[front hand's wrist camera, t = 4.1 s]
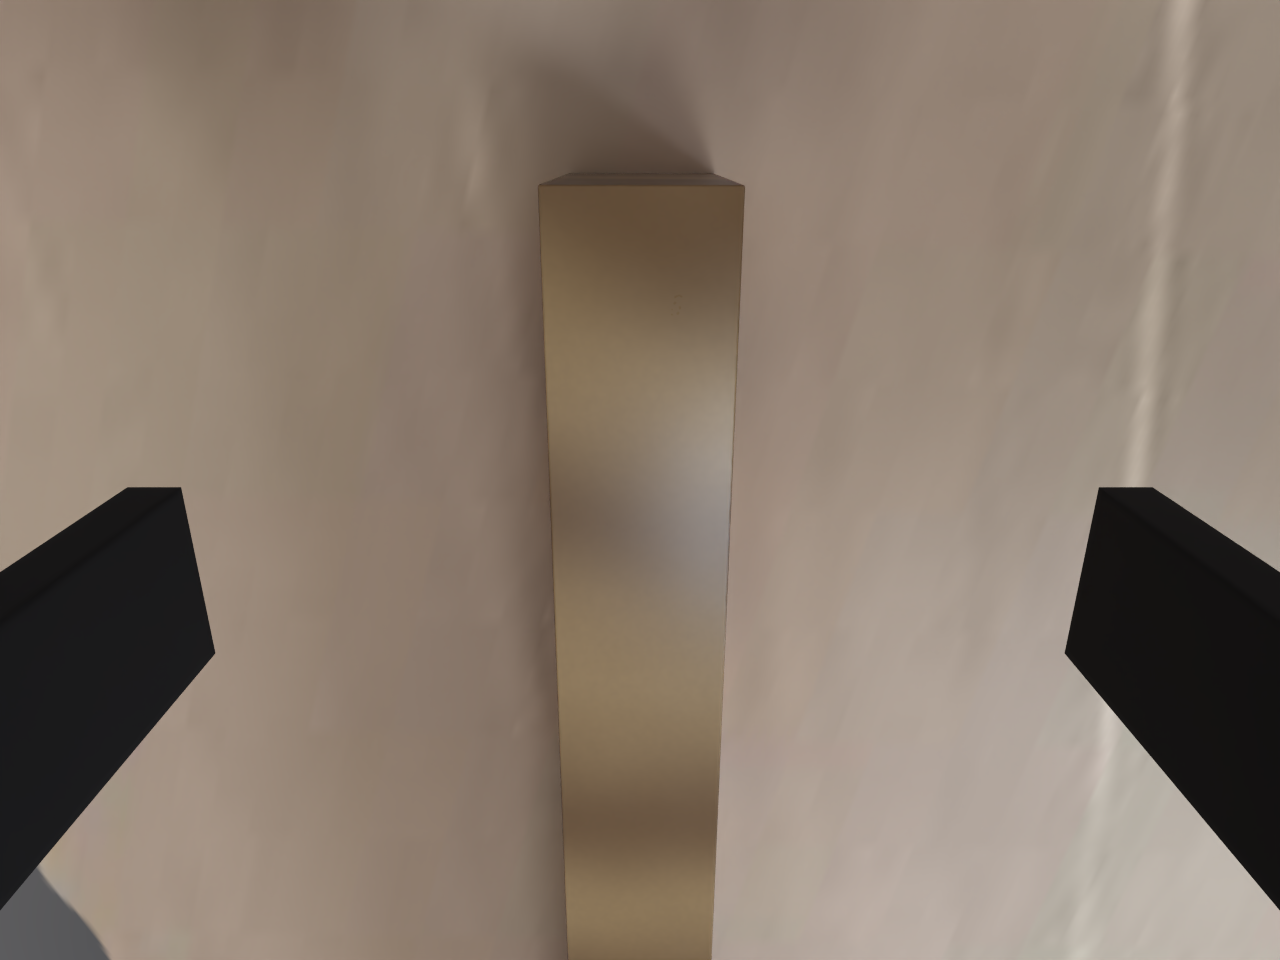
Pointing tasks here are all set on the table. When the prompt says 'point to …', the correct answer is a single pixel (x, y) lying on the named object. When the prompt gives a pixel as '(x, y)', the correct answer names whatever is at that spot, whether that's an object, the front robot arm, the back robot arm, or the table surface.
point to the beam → (640, 543)
